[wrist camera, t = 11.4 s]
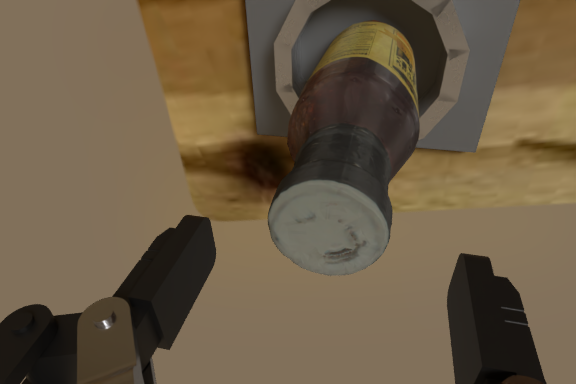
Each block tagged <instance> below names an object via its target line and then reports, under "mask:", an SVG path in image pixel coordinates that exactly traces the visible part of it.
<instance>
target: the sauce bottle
mask: <svg viewBox="0 0 576 384" xmlns="http://www.w3.org/2000/svg"><path fill="white" fill-rule="evenodd" d="M419 132H420V120H419V109H418V93H417V83H416V73H415V60H414V55H413V51H412V48H411V46H410V44H409V42H408V41H407V39H406V38H405V36H404V35H403V34H402V33H400V32H399V31H398V30H397V29H395V28H394V27H392V26H390V25H388V24H386V23H383V22H380V21H376V20H369V21H364V22H360V23H356V24H353V25H351V26H350V27H348V28H346V29H345V30H343V31H342V32H341V33H340V34H339V35H338V36H337V37H336V38H335V39H334V40H333V42H332V43H331V44H330V46H329V48H328V49H327V51H326V52H325V54H324V56H323V57H322V59H321V60H320V62H319V64H318V65H317V67H316V68H315V70H314V72H313V73H312V75H311V76H310V78H309V80H308V81H307V83H306V84H305V86H304V88H303V90H302V92H301V95H300V98H299V100H298V101H297V103H296V105H295V107H294V109H293V111H292V114H291V117H290V121H289V125H288V135H287V136H288V141H287V144H288V147H289V151H290V153H291V156H292V158H293V160H294V161H295V164H294V167H293V169H292V171H291V172H290V173H289V174H288V175H287V176H285V177H284V178H283V180H282V181H281V183H280V184H279V186H278V188H277V190H276V193H275V195H274V197H273V200H272V203H271V206H270V209H269V213H268V225H269V230H270V234H271V238H272V240H273V242H274V244H275V245H276V247H277V248H278V249H279V251H280V252H281V253H282V254H283V255H284V256H286V257H288V258H289V259H290V260H292V261H293V262H294V263H295V264H297V265H298V266H300V267H301V268H304V269H306V270H309V271H312V272H315V273H319V274H324V275H346V274H352V273H355V272H357V271H360V270H363V269H365V268H366V267H368V266H370V265H371V264H373V263H374V262H375V261H376V260H377V259H378V258H379V257H380V256H381V255H382V254H383V252H384V250H385V249H386V247H387V244H388V242H389V239H390V228H391V225H392V206H391V202H390V199H389V196H388V184H389V182H390V181H391V179H392V178H393V177H394V176H395V175H396V173H397V172H398V171H399V170H400V168H401V167H402V166H403V165H404V164H405V162H406V161H407V160H408V159H409V157H410V156H411V155H412V153H413V151H414V150H415V147H416V145H417V142H418V139H419Z"/></svg>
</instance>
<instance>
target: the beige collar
mask: <svg viewBox="0 0 576 384" xmlns="http://www.w3.org/2000/svg"><path fill="white" fill-rule="evenodd" d="M329 1H330V0H295V2H294V4H293V6H292V8H291V10H290V12H289V14H288V16H287V18H286V20H285V22H284V24H283V26H282V28H281V30H280V32H279V34H278V36H277V38H276V40H275V42H274V57H275V76H276V91H277V93H278V95H279V96H280V98H281V100H282V101H283V103H284V104H285V106H286V108H287V109H288V111H289V113H290V114H292V111H293V109H294V107H295V105H296V103H297V101H298V100H299V98H300V95H301V92H302V90H303V88H304V86H305V84H306V82H305V80H304V78H303V76H302V75H301V55H300V37H301V35H302V33H303V31H304V29H305V28H306V26H307V24H308V22H309V20H310V18H311V16H312V15H313V13H314V11H315V10H316V9H317V8H319V7H321V6H322V5H324V4H325V3H327V2H329ZM412 1H413V2H415V3H416V4H418V5H419V6H421V7H422V8H424V9H425V10H427V11H428V12H430V13H431V14H432V15H433V17H434V20H435V23H436V25H437V28H438V30H439V33H440V36H441V38H442V41H443V48H442V53H441V58H440V63H439V68H438V73H437V78H436V81H435V82H434V83H433V84H432V85H431V86H430V88H429V89H428V90H427V91H426V92H425V94H424V95H423V96H422V97H421V98H420V99H419V101H418V109H419V120H420V132H419V139H418V140H420V139H423V138H424V137H425V136H426V135H427V134H428V133H429V132H430V131H431V130H432V129H433V128H434V126H435V125H436V124H437V123H438V122H439V121H440V120H441V119H442V118H443V117H444V116H445V115H446V113H447V112H448V111H449V110H450V109H451V108H452V107H453V106H454V105H455V104H456V103H457V102H458V97H459V93H460V89H461V85H462V81H463V76H464V72H465V68H466V64H467V60H468V56H469V52H470V49H469V47H468V44H467V41H466V38H465V36H464V33H463V30H462V27H461V24H460V21H459V19H458V16H457V13H456V10H455V7H454V5H453V2H452V0H412Z"/></svg>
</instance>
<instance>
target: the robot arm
mask: <svg viewBox="0 0 576 384" xmlns="http://www.w3.org/2000/svg"><path fill="white" fill-rule="evenodd" d="M215 259H216V248H215V242H214V237H213V232H212V228H211V222H210V220H209V218H207V217H200V216H192V215H186V216H184V217H183V219H182V220H181V222H180V223H179V224H178V226H177V227H176V228H169V229H167V230H166V231H165V232H163V233H162V234H161V235H159V236H157V237H156V239H155V240H154V241H153V243H152V244H151V246H150V247H149V248H148V251H146V252H145V253H144V255H143V256H142V258H141V260H139V262H138V263H137V264H136V266H135V267H134V268H133V270H132V271H131V272H130V274H129V275H128V276H127V278H126V279H125V280H124V282H123V283H122V284H121V286H120V287H119V289H118V290H117V291H116V292H115V294H114V295H113V296H112V297H108V298H104V299H101V300H99V301H97V302H95V303H93V304H92V305H90V306H89V307H88V308H87V309H86V310H85V311H84V312H82V313H75V314H66V315H57V316H53V315H52V313H51V311H50V310H49V308H47V307H46V306H44V305H40V304H34V305H29V306H25V307H23V308H20V309H18V310H16V311H14V312H13V313H11V314H10V315H9V316H7V317H6V318H5V319H4V320H3V321H2V322H1V323H0V384H20V383H21V382H22V380H23V379H24V378H25V376H26V379H25V380H24V381H23V383H22V384H156V378H155V372H154V366H153V360H152V355H153V354H154V352H155V350H156V348H157V347H158V348H163V349H167V350H170V348H171V346H172V344H173V342H174V340H175V338H176V337H177V335H178V333H179V331H180V329H181V327H182V325H183V323H184V321H185V319H186V318H187V315H188V314H189V312H190V310H191V308H192V306H193V304H194V302H195V300H196V299H197V297H198V295H199V293H200V291H201V289H202V287H203V285H204V283H205V281H206V280H207V278H208V276H209V274H210V272H211V270H212V268H213V266H214V262H215ZM447 309H448V318H449V328H450V337H451V347H452V356H453V366H454V374H455V384H546V381H545V379H544V376H543V373H542V369H541V365H540V362H539V359H538V355H537V352H536V348H535V345H534V342H533V338H532V335H531V332H530V328H529V327H528V321H527V318H526V314H525V313H524V308H523V304H522V301H521V298H520V294H519V292H518V291H517V290H516V289H515V287H514V286H513V285H512V283H511V282H510V281H509V280H508V279H507V278H504V277H498V276H494V274H493V269H492V265H491V261H490V259H489V258H488V257H485V256H478V255H471V254H462V253H461V254H460V255H459V258H458V260H457V263H456V267H455V270H454V273H453V276H452V279H451V282H450V285H449V289H448V296H447Z"/></svg>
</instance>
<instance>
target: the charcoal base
mask: <svg viewBox="0 0 576 384" xmlns="http://www.w3.org/2000/svg"><path fill="white" fill-rule="evenodd" d="M294 2H295V0H245V3H246V14H247V25H248V37H249V48H250V59H251V70H252V82H253V93H254V104H255V116H256V127H257V134H260V135H272V136H284V137H288V136H287V135H288V125H289V121H290V117H291V114H290V113H289V111H288V109H287V108H286V106H285V104H284V103H283V101H282V100H281V98H280V96H279V95H278V93H277V91H276V76H275V57H274V42H275V40H276V38H277V36H278V34H279V32H280V30H281V28H282V26H283V24H284V22H285V20H286V18H287V16H288V14H289V12H290V10H291V8H292V6H293V4H294ZM452 2H453V5H454V7H455V10H456V13H457V16H458V19H459V21H460V24H461V27H462V30H463V33H464V36H465V38H466V41H467V44H468V47H469V49H470V52H469V56H468V60H467V64H466V68H465V72H464V76H463V81H462V85H461V89H460V93H459V97H458V102H457V103H456V104H455V105H454V106H453V107H452V108H451V109H450V110H449V111H448V112H447V113H446V115H445V116H444V117H443V118H442V119H441V120H440V121H439V122H438V123H437V124H436V125H435V126H434V128H433V129H432V130H431V131H430V132H429V133H428V134H427V135H426V136H425V137H424V138H423V139H420V140H418V142H417V145H416V148H428V149H440V150H452V151H464V152H476V149H477V145H478V142H479V139H480V135H481V132H482V128H483V125H484V122H485V118H486V115H487V111H488V108H489V105H490V101H491V98H492V94H493V91H494V88H495V84H496V81H497V77H498V74H499V71H500V67H501V64H502V60H503V57H504V54H505V50H506V47H507V43H508V40H509V37H510V33H511V30H512V26H513V23H514V20H515V16H516V13H517V9H518V6H519V3H520V0H452ZM369 20H376V21H380V22H383V23H386V24H388V25H390V26H392V27H394V28H395V29H397V30H398V31H399V32H400V33H402V34H403V35H404V36H405V38H406V39H407V41H408V42H409V44H410V46H411V48H412V51H413V55H414V60H415V73H416V83H417V93H418V101H419V99H420V98H421V97H422V96H423V95H424V94H425V92H426V91H427V90H428V89H429V88H430V86H431V85H432V84H433V83H434V82H435V81H436V78H437V73H438V68H439V63H440V58H441V53H442V48H443V41H442V38H441V36H440V33H439V30H438V28H437V25H436V23H435V20H434V17H433V15H432V14H431V13H430V12H428V11H427V10H425V9H424V8H422V7H421V6H419V5H418V4H416V3H415V2H413V1H412V0H330V1H329V2H327V3H325V4H324V5H322V6H321V7H319V8H317V9H316V10H315V11H314V13H313V15H312V16H311V18H310V20H309V22H308V24H307V26H306V28H305V29H304V31H303V33H302V35H301V37H300V55H301V75H302V76H303V78H304V80H305V82H306V83H307V81H308V80H309V78H310V76H311V75H312V73H313V72H314V70H315V68H316V67H317V65H318V64H319V62H320V60H321V59H322V57H323V56H324V54H325V52H326V51H327V49H328V48H329V46H330V44H331V43H332V42H333V40H334V39H335V38H336V37H337V36H338V35H339V34H340V33H341V32H342V31H343V30H345V29H346V28H348V27H350V26H351V25H353V24H356V23H360V22H364V21H369Z"/></svg>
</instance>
